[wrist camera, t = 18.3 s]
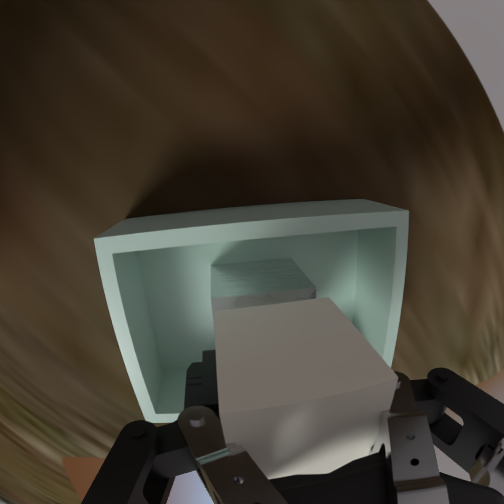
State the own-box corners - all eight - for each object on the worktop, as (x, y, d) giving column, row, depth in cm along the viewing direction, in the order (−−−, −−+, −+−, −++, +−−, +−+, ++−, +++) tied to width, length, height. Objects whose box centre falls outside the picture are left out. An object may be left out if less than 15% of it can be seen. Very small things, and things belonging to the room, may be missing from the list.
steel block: (210, 265, 19) (210, 298, 14) (290, 257, 19) (316, 287, 14) (218, 335, 20) (221, 382, 15) (291, 327, 21) (312, 370, 16)
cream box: (227, 397, 14) (238, 498, 8) (214, 310, 13) (219, 413, 7) (323, 382, 15) (368, 469, 9) (328, 296, 13) (398, 377, 7)
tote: (157, 372, 21) (146, 422, 16) (124, 219, 18) (93, 238, 13) (355, 346, 23) (386, 386, 18) (362, 198, 20) (409, 210, 14)
